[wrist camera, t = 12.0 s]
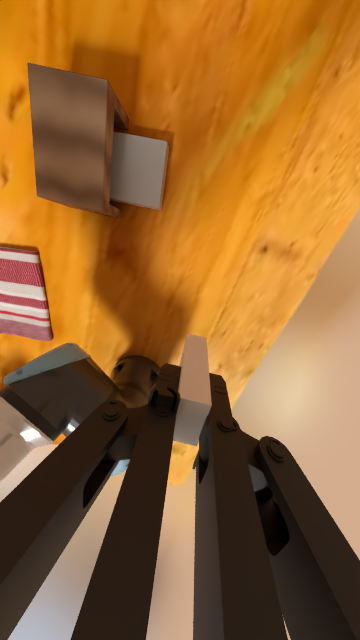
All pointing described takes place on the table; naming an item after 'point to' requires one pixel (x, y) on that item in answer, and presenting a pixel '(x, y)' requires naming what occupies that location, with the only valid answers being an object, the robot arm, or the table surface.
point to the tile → (138, 170)
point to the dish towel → (23, 295)
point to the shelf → (74, 137)
